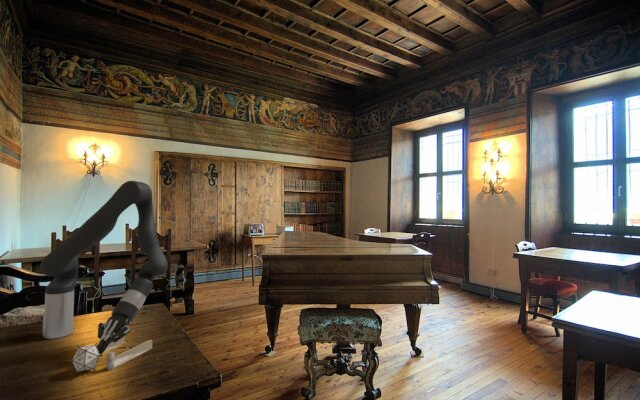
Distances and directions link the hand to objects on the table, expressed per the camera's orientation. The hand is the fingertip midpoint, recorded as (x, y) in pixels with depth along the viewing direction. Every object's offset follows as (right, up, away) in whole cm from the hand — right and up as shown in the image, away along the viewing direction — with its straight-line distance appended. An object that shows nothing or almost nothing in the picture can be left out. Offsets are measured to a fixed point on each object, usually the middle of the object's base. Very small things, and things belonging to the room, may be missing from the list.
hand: (97, 353), depth 107 cm
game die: (-1, -4, -4) cm, 6 cm away
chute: (+2, -4, +8) cm, 9 cm away
